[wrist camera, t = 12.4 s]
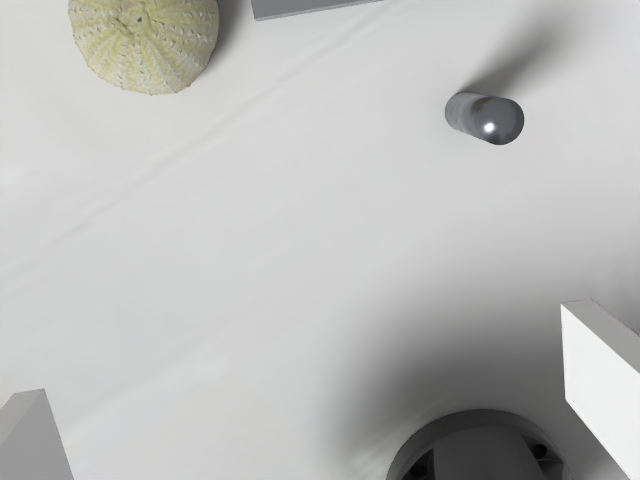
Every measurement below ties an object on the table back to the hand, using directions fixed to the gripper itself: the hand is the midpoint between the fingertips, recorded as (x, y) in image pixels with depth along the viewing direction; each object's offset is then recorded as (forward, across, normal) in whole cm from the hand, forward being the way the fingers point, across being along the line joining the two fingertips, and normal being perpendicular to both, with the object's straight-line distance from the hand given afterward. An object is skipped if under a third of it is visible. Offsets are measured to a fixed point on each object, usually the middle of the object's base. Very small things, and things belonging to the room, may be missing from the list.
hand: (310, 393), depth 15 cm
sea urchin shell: (+29, +8, -12) cm, 32 cm away
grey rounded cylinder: (+29, -12, -3) cm, 31 cm away
